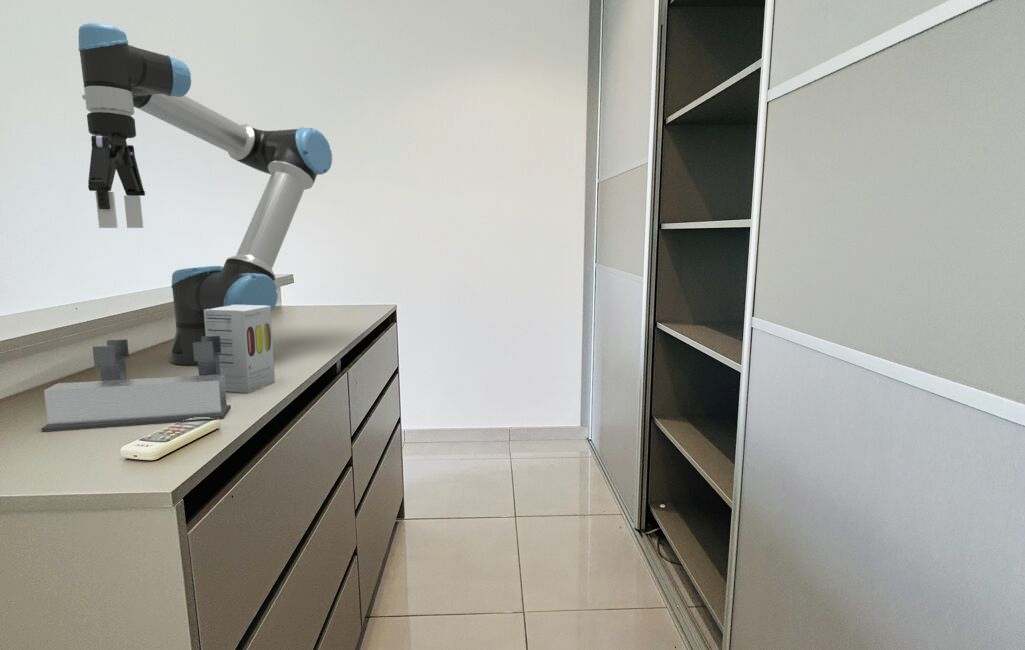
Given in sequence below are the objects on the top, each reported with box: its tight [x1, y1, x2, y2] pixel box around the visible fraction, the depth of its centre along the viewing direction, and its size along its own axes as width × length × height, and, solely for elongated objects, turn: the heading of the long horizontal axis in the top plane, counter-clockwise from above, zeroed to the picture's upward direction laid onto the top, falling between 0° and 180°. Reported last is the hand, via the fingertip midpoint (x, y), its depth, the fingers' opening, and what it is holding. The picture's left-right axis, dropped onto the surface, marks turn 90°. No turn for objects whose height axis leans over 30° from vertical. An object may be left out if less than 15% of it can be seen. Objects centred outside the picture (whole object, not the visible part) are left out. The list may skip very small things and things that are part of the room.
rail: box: [43, 374, 228, 426], centre depth 100 cm, size 4×26×6 cm, turn 105°
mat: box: [41, 404, 232, 433], centre depth 101 cm, size 6×27×1 cm, turn 105°
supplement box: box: [204, 305, 276, 394], centre depth 121 cm, size 10×9×17 cm
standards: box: [92, 336, 221, 381], centre depth 109 cm, size 7×20×12 cm, turn 105°
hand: (122, 228), depth 114 cm, fingers open, 13 cm apart
